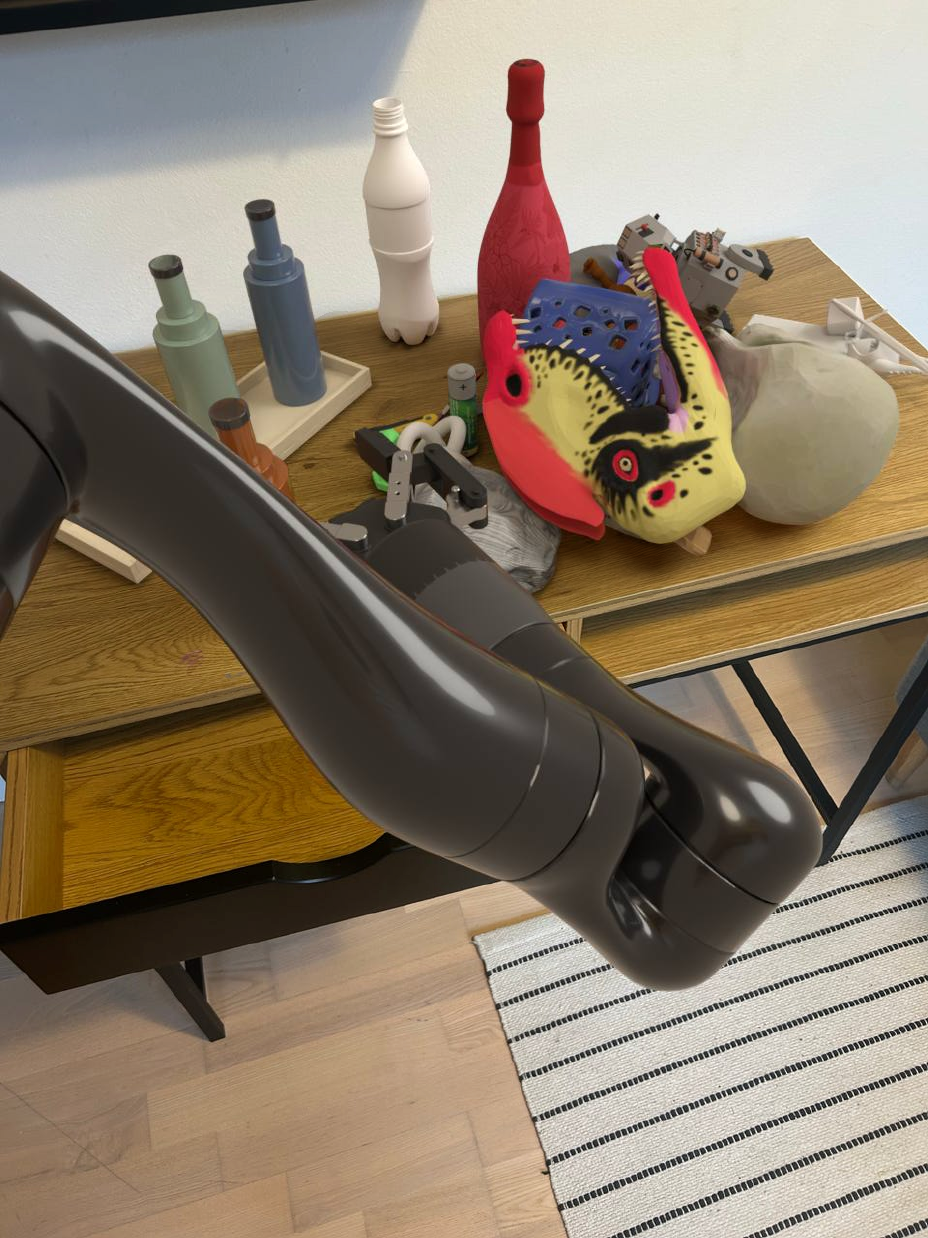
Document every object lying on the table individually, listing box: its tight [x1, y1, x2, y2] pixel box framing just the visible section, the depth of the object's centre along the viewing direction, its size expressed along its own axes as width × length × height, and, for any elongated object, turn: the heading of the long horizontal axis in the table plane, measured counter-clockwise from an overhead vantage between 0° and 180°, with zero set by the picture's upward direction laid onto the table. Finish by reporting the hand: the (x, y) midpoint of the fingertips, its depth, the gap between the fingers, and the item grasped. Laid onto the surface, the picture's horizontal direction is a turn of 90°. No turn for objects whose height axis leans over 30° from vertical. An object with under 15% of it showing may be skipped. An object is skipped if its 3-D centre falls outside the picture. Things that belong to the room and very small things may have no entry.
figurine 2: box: [739, 296, 928, 380], centre depth 90 cm, size 12×8×25 cm
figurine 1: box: [616, 212, 775, 336], centre depth 96 cm, size 9×12×15 cm
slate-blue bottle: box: [242, 198, 327, 407], centre depth 87 cm, size 6×6×20 cm
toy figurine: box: [583, 258, 638, 328], centre depth 97 cm, size 12×4×7 cm
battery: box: [447, 363, 479, 458], centre depth 84 cm, size 3×3×10 cm
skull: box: [653, 323, 900, 526], centre depth 76 cm, size 15×18×20 cm
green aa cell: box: [433, 369, 486, 426], centre depth 89 cm, size 8×1×5 cm
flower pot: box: [517, 279, 660, 409], centre depth 84 cm, size 13×13×12 cm
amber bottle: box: [208, 397, 298, 505], centre depth 68 cm, size 6×6×20 cm
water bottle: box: [362, 97, 440, 346], centre depth 93 cm, size 7×7×25 cm
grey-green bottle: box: [147, 254, 241, 439], centre depth 81 cm, size 6×6×20 cm
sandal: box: [596, 500, 713, 558], centre depth 77 cm, size 7×16×5 cm
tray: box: [55, 349, 373, 585], centre depth 88 cm, size 35×11×2 cm, turn 147°
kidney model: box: [569, 243, 652, 319], centre depth 102 cm, size 15×7×18 cm
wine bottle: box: [476, 58, 570, 366], centre depth 87 cm, size 10×10×30 cm
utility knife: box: [352, 403, 483, 445], centre depth 90 cm, size 16×1×3 cm
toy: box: [482, 248, 746, 545], centre depth 73 cm, size 7×27×20 cm
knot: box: [396, 416, 474, 490], centre depth 82 cm, size 8×8×6 cm
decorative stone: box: [415, 459, 562, 595], centre depth 76 cm, size 14×14×10 cm
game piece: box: [371, 428, 400, 493], centre depth 83 cm, size 4×4×6 cm
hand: (301, 468), depth 53 cm, fingers open, 8 cm apart
